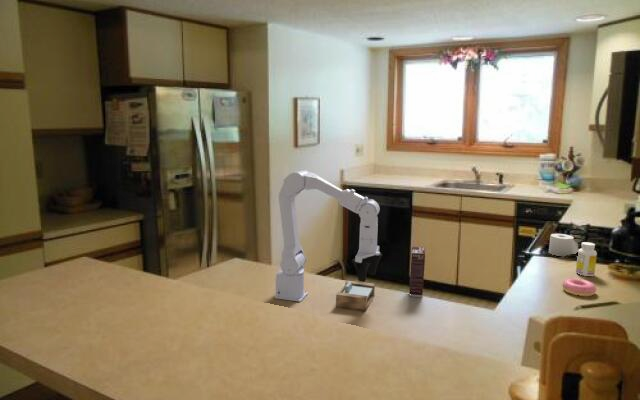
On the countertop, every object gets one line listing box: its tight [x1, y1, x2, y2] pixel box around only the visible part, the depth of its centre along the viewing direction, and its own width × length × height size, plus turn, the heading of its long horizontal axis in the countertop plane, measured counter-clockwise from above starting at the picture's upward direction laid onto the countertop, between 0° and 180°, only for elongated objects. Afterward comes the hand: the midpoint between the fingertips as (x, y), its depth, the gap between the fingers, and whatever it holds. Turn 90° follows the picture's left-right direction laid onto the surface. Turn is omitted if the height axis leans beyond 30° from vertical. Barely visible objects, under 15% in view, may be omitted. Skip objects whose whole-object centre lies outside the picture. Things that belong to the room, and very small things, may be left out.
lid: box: [343, 280, 373, 299], centre depth 163 cm, size 9×11×3 cm
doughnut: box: [561, 277, 597, 297], centre depth 175 cm, size 11×11×4 cm
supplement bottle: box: [575, 241, 598, 277], centre depth 193 cm, size 7×7×13 cm
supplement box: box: [408, 246, 426, 298], centre depth 171 cm, size 9×5×16 cm, turn 168°
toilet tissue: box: [548, 233, 579, 257], centre depth 221 cm, size 9×13×9 cm
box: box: [335, 280, 376, 313], centre depth 164 cm, size 10×14×4 cm
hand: (366, 277), depth 159 cm, fingers open, 7 cm apart
